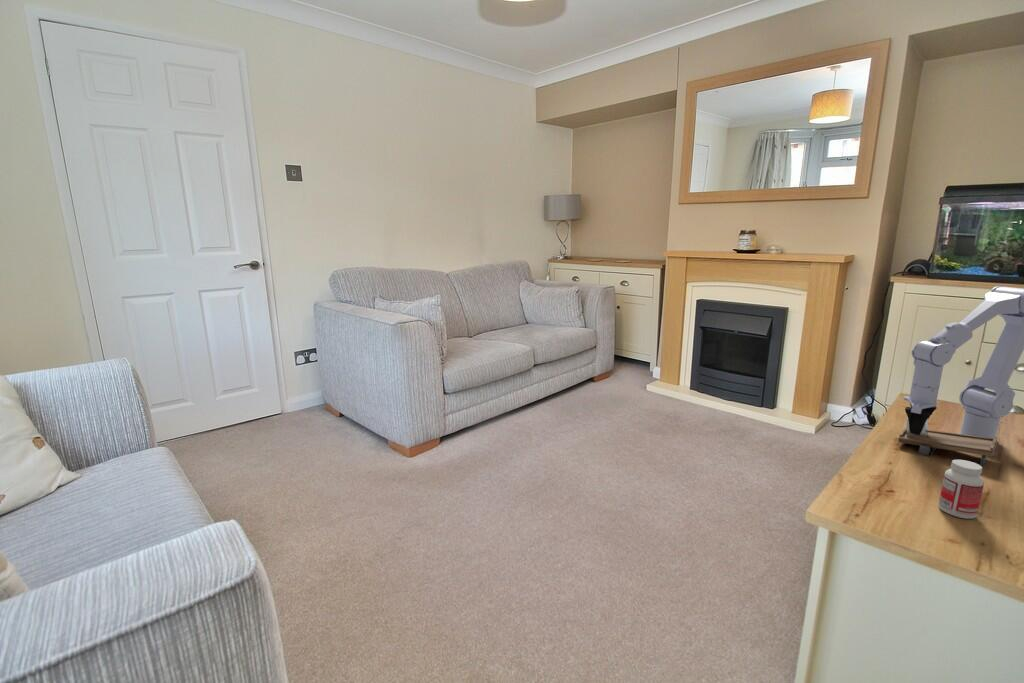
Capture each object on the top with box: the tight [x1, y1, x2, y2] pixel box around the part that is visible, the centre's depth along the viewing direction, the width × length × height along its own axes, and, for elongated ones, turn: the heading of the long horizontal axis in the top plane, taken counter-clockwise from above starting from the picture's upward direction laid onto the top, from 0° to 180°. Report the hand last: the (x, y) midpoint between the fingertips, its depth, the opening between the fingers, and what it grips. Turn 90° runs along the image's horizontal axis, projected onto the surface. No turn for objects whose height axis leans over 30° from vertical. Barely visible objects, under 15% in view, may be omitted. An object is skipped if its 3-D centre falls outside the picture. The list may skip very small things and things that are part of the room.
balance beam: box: [898, 426, 998, 457], centre depth 130 cm, size 11×18×2 cm, turn 41°
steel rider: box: [906, 417, 929, 439], centre depth 135 cm, size 4×4×5 cm
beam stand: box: [901, 443, 987, 467], centre depth 131 cm, size 14×17×3 cm
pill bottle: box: [938, 459, 985, 520], centre depth 102 cm, size 6×6×11 cm
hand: (916, 431), depth 135 cm, fingers closed on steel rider, 4 cm apart
